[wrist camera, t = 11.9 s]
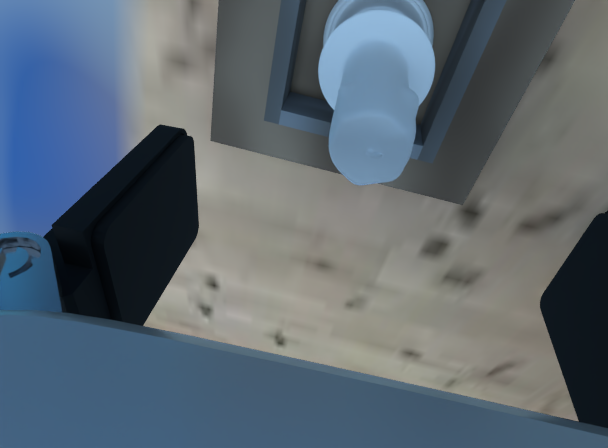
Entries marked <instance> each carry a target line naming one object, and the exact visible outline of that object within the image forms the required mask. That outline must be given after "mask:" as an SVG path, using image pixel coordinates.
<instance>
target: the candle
mask: <svg viewBox="0 0 608 448" xmlns="http://www.w3.org/2000/svg"><path fill="white" fill-rule="evenodd" d="M433 38H434V28H433V21H432V17H431V14H430V12H429V9H428V7H427V5H426V4H425V2H424V1H423V0H338V2H337V3H336V4H335V5H334V7H333V9H332V10H331V12H330V14H329V16H328V19H327V21H326V25H325V29H324V36H323V46H324V47H323V49H322V52H321V55H320V59H319V66H318V76H319V83H320V87H321V90H322V93H323V95H324V97H325V99H326V100H327V102H328V103H329V105H330V106H331V107H332V108H333V109H334V113H333V117H332V122H331V127H330V133H329V153H330V157H331V159H332V162H333V163H334V165H335V167H336V168H337V169H338V170H339V171H340V172H341V173H342V174H343V175H344V176H345V177H346V178H347V179H348V180H349V181H350V182H352V183H353V184H356V185H368V184H374V183H384V182H390V181H393V180H395V179H397V178H398V177H399V176H400V174H401V173H402V171H403V169H404V167H405V166H406V164H407V162H408V160H409V158H410V156H411V152H412V148H413V144H414V140H415V135H416V115H417V111H418V108H419V105H420V104H421V103H422V102H423V100H424V99H425V97H426V96H427V94H428V92H429V90H430V88H431V85H432V82H433V79H434V73H435V56H434V51H433V48H432V45H433Z"/></svg>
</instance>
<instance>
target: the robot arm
mask: <svg viewBox="0 0 608 448" xmlns="http://www.w3.org/2000/svg"><path fill="white" fill-rule="evenodd" d="M198 228H199V220H198V203H197V186H196V170H195V153H194V140H193V138H192V137H191V136H187V133H186V131H185V130H184V129H182V128H176V127H171V126H165V125H159V126H157V127H156V128H155V129H154V130H153V131H152V132H151V133H150V134H149V135H147V136H146V137H145V138H144V139H143V140H142V141H141V142H140V143H139V144H138V145H137V146H136V147H135V148H134V149H133V150H131V151H130V152H129V153H128V154H127V155H126V156H125V157H124V158H123V159H122V160H121V161H120V162H119V163H118V164H116V165H115V166H114V167H113V168H112V169H111V170H110V171H109V172H108V173H107V174H106V175H105V176H104V177H103V178H102V179H100V181H98V182H97V184H95V185H94V186H93V187H92V188H91V189H90V190H89V191H88V192H87V193H86V194H84V195H83V196H82V197H81V198H80V199H79V200H78V201H77V202H76V203H75V204H74V205H73V206H72V207H71V208H69V209H68V211H66V212H65V213H64V214H63V215H62V216H61V217H60V218H59V219H58V220H57V221H56V222H55V223H53V224H52V229H51V230H50V231H49V232H48V233H47V234H46V235H45V236H44V237H42V236H40V235H37V234H34V233H30V232H9V233H2V234H0V448H608V211H607V212H605V213H601V214H598V215H597V216H596V217H595V218H594V219H593V221H592V222H591V224H590V225H589V227H588V228H587V230H586V231H585V233H584V234H583V235H582V237H581V238H580V240H579V241H578V243H577V244H576V246H575V247H574V249H573V250H572V252H571V253H570V255H569V256H568V258H567V259H566V261H565V262H564V263H563V265H562V266H561V268H560V269H559V271H558V272H557V274H556V275H555V277H554V278H553V280H552V281H551V283H550V284H549V286H548V287H547V289H546V290H545V291H544V293H543V295H542V297H541V301H540V308H541V312H542V315H543V318H544V321H545V324H546V327H547V330H548V333H549V335H550V338H551V341H552V344H553V347H554V350H555V353H556V356H557V359H558V362H559V365H560V368H561V371H562V373H563V376H564V379H565V382H566V385H567V388H568V391H569V394H570V397H571V400H572V403H573V406H574V408H575V411H576V414H577V417H578V420H579V422H577V421H573V420H569V419H564V418H560V417H556V416H551V415H547V414H542V413H538V412H534V411H529V410H525V409H520V408H516V407H512V406H507V405H503V404H498V403H494V402H490V401H485V400H481V399H476V398H472V397H467V396H463V395H458V394H454V393H450V392H445V391H441V390H436V389H432V388H427V387H423V386H418V385H414V384H409V383H405V382H400V381H396V380H391V379H387V378H382V377H378V376H373V375H369V374H364V373H360V372H355V371H351V370H346V369H342V368H337V367H333V366H328V365H324V364H319V363H314V362H310V361H305V360H301V359H296V358H291V357H287V356H282V355H278V354H273V353H268V352H264V351H259V350H255V349H250V348H245V347H241V346H236V345H232V344H227V343H222V342H218V341H213V340H208V339H204V338H199V337H195V336H190V335H185V334H180V333H175V332H170V331H165V330H160V329H155V328H150V327H145V326H143V325H144V323H145V321H146V320H147V318H148V316H149V315H150V313H151V311H152V310H153V308H154V306H155V305H156V303H157V302H158V300H159V298H160V297H161V295H162V293H163V292H164V290H165V288H166V287H167V285H168V283H169V282H170V280H171V278H172V277H173V275H174V273H175V272H176V270H177V268H178V267H179V265H180V263H181V262H182V260H183V258H184V257H185V255H186V253H187V252H188V250H189V248H190V247H191V245H192V243H193V242H194V240H195V238H196V236H197V233H198Z"/></svg>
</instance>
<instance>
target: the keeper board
mask: <svg viewBox="0 0 608 448" xmlns="http://www.w3.org/2000/svg"><path fill="white" fill-rule="evenodd" d="M423 1H424V2H425V4H426V5H427V7H428V9H429V12H430V14H431V17H432V21H433V28H434V38H433V45H432V48H433V51H434V56H435V73H434V79H433V82H432V85H431V88H430V90H429V92H428V94H427V96H426V97H425V99H424V100H423V102H422V103H421V104H420V105H419V108H418V111H417V115H416V135H415V140H414V144H413V148H412V152H411V156H410V158H409V160H408V162H407V164H406V166H405V167H404V169H403V171H402V173H401V174H400V176H399V177H398V178H397V179H395V180H393V181H390V182H384V183H378V184H382V185H386V186H390V187H394V188H398V189H402V190H406V191H410V192H414V193H418V194H421V195H425V196H429V197H433V198H437V199H441V200H445V201H449V202H453V203H457V204H461V205H463V203H464V201H465V200H466V198H467V196H468V194H469V192H470V190H471V189H472V187H473V185H474V183H475V181H476V180H477V178H478V176H479V174H480V172H481V170H482V169H483V167H484V165H485V163H486V161H487V160H488V158H489V156H490V154H491V152H492V150H493V149H494V147H495V145H496V143H497V141H498V140H499V138H500V136H501V134H502V132H503V130H504V129H505V127H506V125H507V123H508V121H509V120H510V118H511V116H512V114H513V112H514V110H515V109H516V107H517V105H518V103H519V101H520V100H521V98H522V96H523V94H524V92H525V90H526V89H527V87H528V85H529V83H530V81H531V80H532V78H533V76H534V74H535V72H536V70H537V69H538V67H539V65H540V63H541V61H542V60H543V58H544V56H545V54H546V52H547V50H548V49H549V47H550V45H551V43H552V41H553V40H554V38H555V36H556V34H557V32H558V30H559V29H560V27H561V25H562V23H563V21H564V20H565V18H566V16H567V14H568V12H569V10H570V9H571V7H572V5H573V3H574V1H575V0H423ZM337 2H338V0H219V6H218V23H217V40H216V57H215V74H214V91H213V108H212V126H211V141H214V142H218V143H221V144H225V145H229V146H233V147H237V148H241V149H245V150H249V151H253V152H257V153H261V154H265V155H269V156H272V157H276V158H280V159H284V160H288V161H292V162H296V163H300V164H304V165H308V166H312V167H316V168H320V169H323V170H327V171H331V172H335V173H339V174H342V173H341V172H340V171H339V170H338V169H337V168H336V167H335V165H334V163H333V162H332V159H331V157H330V153H329V133H330V127H331V122H332V117H333V113H334V109H333V108H332V107H331V106H330V105H329V103H328V102H327V100H326V99H325V97H324V95H323V93H322V90H321V87H320V83H319V76H318V66H319V59H320V55H321V52H322V49H323V47H324V46H323V36H324V29H325V25H326V21H327V19H328V16H329V14H330V12H331V10H332V9H333V7H334V5H335V4H336V3H337Z"/></svg>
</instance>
